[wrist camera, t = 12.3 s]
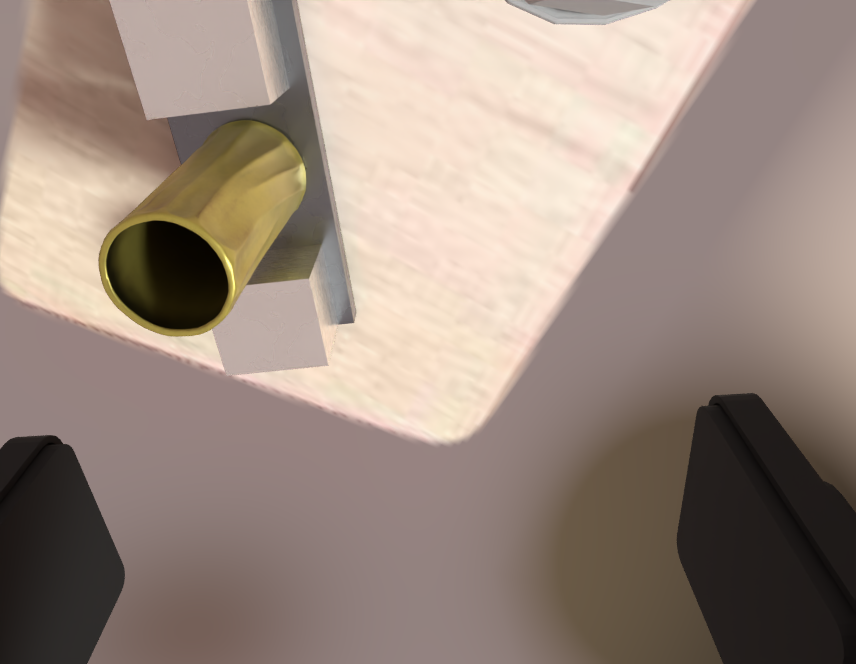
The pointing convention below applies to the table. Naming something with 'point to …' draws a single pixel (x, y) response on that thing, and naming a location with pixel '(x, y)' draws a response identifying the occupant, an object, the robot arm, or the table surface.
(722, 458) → the robot arm
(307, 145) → the rail board
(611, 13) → the water bottle
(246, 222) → the vase
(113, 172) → the table surface
